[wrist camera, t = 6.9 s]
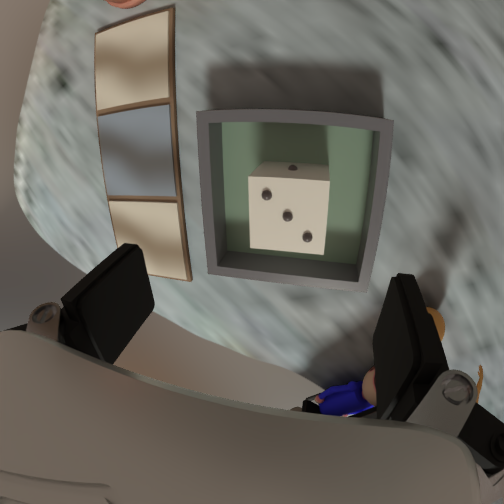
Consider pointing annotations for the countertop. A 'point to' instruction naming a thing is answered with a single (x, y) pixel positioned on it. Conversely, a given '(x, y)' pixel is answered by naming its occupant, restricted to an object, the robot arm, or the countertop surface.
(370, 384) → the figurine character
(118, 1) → the pink cylinder
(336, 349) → the countertop surface
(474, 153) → the countertop surface
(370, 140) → the tray
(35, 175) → the countertop surface
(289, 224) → the die
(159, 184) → the track
